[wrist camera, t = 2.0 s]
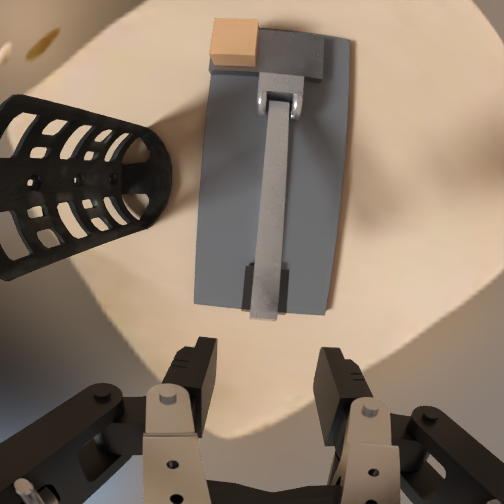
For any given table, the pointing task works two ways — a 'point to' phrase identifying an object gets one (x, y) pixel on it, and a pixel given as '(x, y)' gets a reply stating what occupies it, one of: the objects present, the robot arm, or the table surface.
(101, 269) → the table surface
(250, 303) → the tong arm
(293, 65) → the base
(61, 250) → the holder
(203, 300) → the tray
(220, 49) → the tab
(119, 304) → the table surface
